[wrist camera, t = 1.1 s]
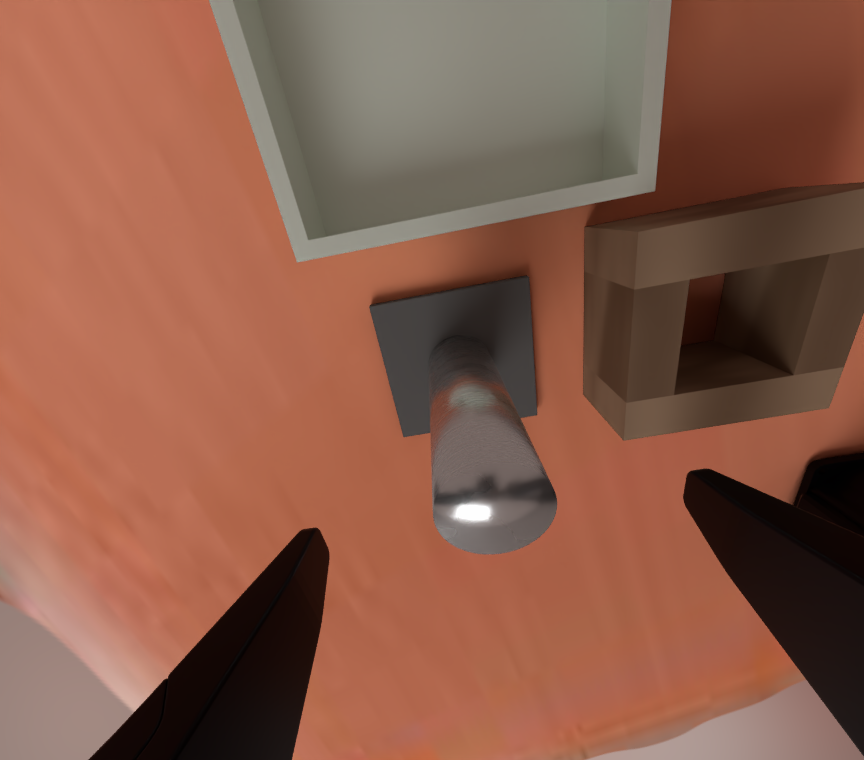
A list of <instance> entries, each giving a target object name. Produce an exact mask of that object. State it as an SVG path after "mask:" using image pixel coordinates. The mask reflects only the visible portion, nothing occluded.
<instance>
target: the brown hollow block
mask: <svg viewBox="0 0 864 760" xmlns="http://www.w3.org/2000/svg"><path fill="white" fill-rule="evenodd" d="M723 273H726V275H725V280H724V286H723V291H722V297H721V303H720V308H719V314H718V319H717V325H716V330H715V336H714V340H712V341H707V342H701V343H695V344H689V345H684V346H681V340H682V333H683V326H684V318H685V311H686V304H687V297H688V289H689V282H690V279H695V278H701V277H706V276H712V275H717V274H723ZM863 313H864V182H863V183H848V184H833V185H819V186H804V187H790V188H782V189H777V190H772V191H767V192H762V193H757V194H752V195H746V196H741V197H736V198H731V199H726V200H721V201H716V202H711V203H706V204H700V205H695V206H690V207H685V208H680V209H675V210H670V211H665V212H659V213H654V214H649V215H644V216H639V217H634V218H629V219H624V220H618V221H613V222H608V223H603V224H598V225H593V226H588V227H585V239H584V359H583V395H584V396H585V397H586V398H587V399H588V401H589V402H590V403H591V404H592V405H593V406H594V407H595V409H596V410H597V411H598V412H599V413H600V414H601V415H602V417H603V418H604V419H605V420H606V421H607V422H608V423H609V425H610V426H611V427H612V428H613V429H614V430H615V431H616V432H617V434H618V435H619V436H620V437H621V438H622V439H623V440H631V439H637V438H643V437H650V436H656V435H662V434H668V433H675V432H681V431H687V430H694V429H700V428H706V427H713V426H719V425H725V424H731V423H738V422H744V421H750V420H757V419H763V418H769V417H775V416H782V415H788V414H794V413H801V412H807V411H813V410H820V409H826V408H829V406H830V404H831V401H832V398H833V395H834V393H835V390H836V387H837V384H838V382H839V379H840V376H841V373H842V371H843V368H844V365H845V362H846V360H847V357H848V354H849V352H850V349H851V346H852V343H853V341H854V338H855V335H856V332H857V330H858V327H859V324H860V321H861V319H862V316H863Z"/></svg>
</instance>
